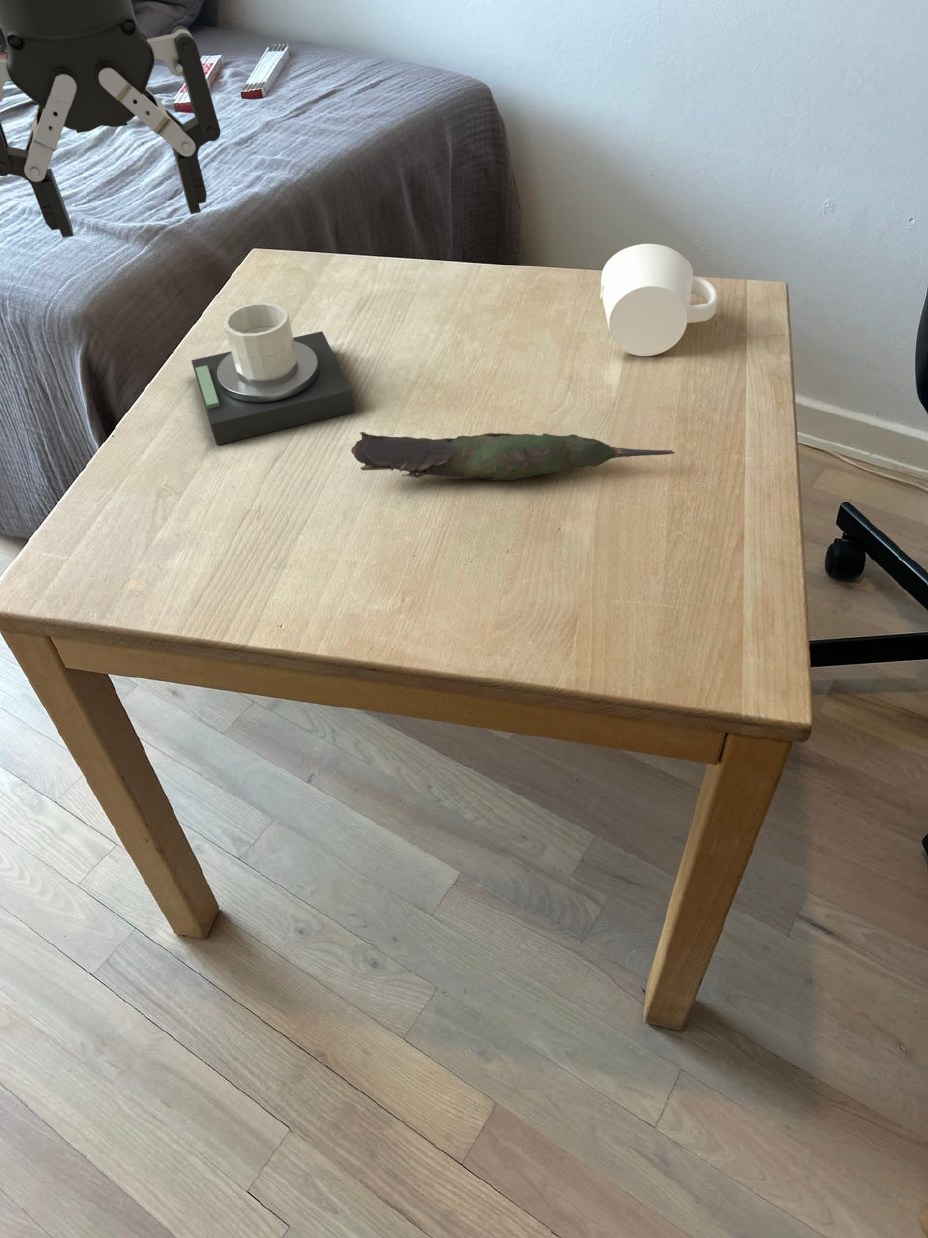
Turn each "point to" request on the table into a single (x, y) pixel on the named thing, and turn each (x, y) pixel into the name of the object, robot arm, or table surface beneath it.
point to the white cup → (261, 341)
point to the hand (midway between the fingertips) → (131, 220)
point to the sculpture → (487, 455)
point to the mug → (652, 298)
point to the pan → (271, 389)
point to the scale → (257, 418)
